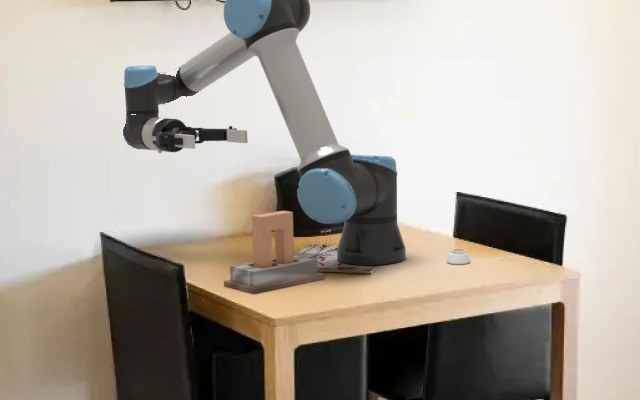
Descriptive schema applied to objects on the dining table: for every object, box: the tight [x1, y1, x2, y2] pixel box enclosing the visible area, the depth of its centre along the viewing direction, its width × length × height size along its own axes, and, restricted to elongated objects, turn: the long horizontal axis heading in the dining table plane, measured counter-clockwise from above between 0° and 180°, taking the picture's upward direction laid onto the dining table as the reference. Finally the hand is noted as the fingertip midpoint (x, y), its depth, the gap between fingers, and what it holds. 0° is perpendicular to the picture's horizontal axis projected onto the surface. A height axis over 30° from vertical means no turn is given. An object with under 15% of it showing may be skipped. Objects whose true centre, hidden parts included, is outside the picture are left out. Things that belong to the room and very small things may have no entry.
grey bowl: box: [446, 248, 471, 266], centre depth 229 cm, size 5×3×5 cm
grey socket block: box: [223, 254, 326, 295], centre depth 214 cm, size 10×18×4 cm, turn 131°
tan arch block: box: [251, 210, 295, 269], centre depth 214 cm, size 3×8×13 cm, turn 130°
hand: (220, 139), depth 226 cm, fingers open, 13 cm apart
